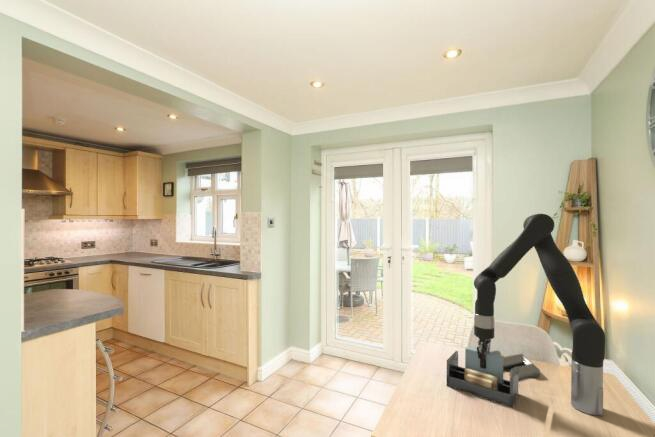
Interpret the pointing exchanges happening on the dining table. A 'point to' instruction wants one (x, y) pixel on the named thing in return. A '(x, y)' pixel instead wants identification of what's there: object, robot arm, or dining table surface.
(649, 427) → the dining table surface
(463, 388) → the rack
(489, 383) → the offcut short
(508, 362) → the emblem
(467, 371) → the offcut long
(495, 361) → the blue sheet
